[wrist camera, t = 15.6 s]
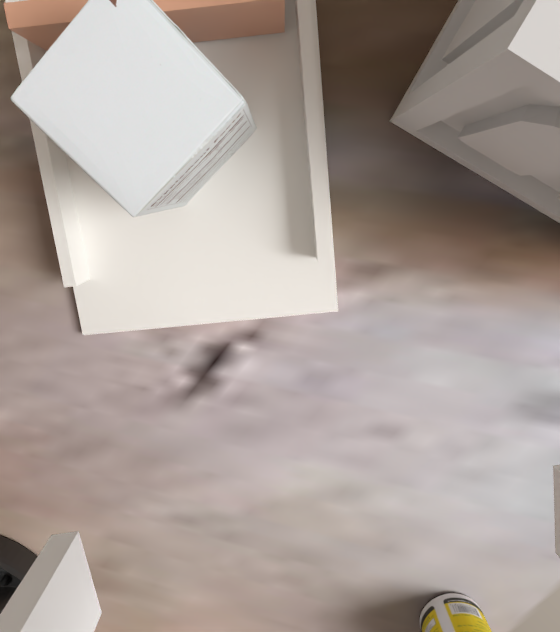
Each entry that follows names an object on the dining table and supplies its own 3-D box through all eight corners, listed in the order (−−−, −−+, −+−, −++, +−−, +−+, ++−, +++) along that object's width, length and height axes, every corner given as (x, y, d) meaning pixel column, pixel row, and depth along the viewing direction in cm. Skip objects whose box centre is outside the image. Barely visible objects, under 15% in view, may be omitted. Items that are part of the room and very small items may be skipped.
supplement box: (103, 127, 34) (-1, 93, 21) (180, 41, 32) (117, -48, 20) (184, 210, 35) (131, 223, 23) (262, 130, 34) (250, 98, 21)
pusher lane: (85, 332, 38) (11, 387, 27) (8, -54, 32) (-124, -170, 21) (337, 309, 37) (358, 356, 27) (308, -89, 31) (320, -226, 21)
